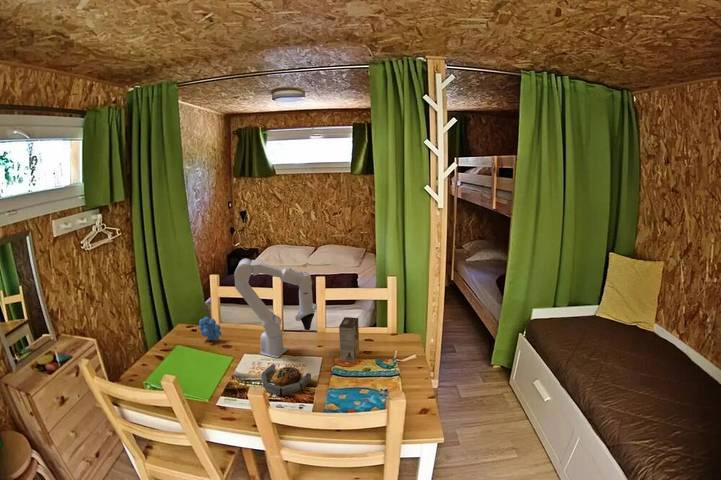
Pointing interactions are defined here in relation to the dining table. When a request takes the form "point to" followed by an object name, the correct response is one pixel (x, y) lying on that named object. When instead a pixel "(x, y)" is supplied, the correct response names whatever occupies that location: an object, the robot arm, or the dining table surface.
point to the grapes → (209, 328)
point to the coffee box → (349, 339)
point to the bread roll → (286, 376)
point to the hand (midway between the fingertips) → (307, 329)
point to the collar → (285, 389)
